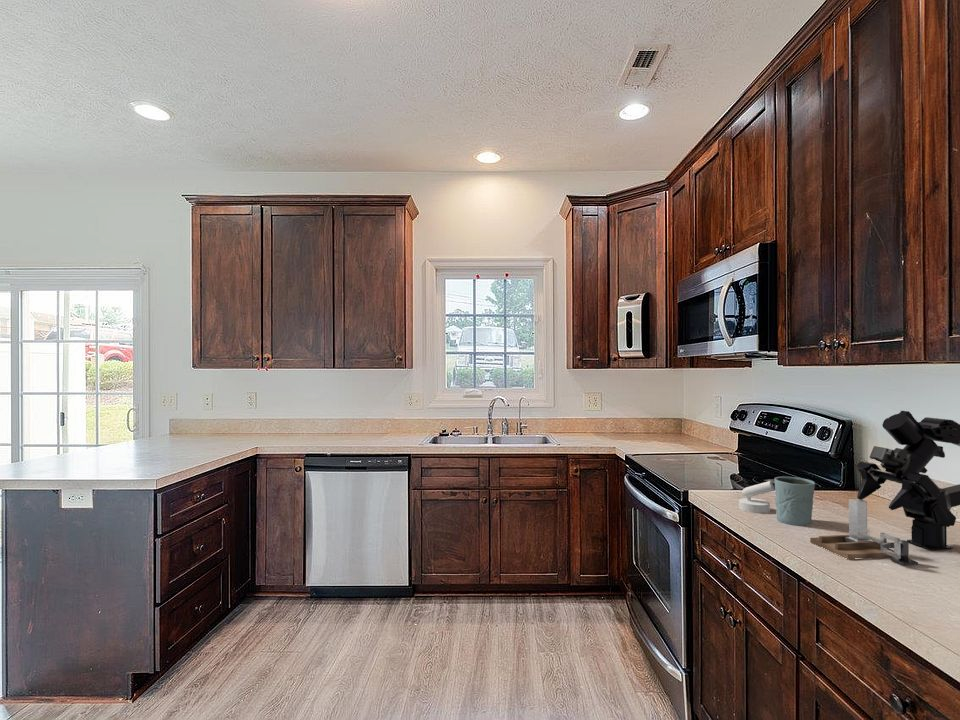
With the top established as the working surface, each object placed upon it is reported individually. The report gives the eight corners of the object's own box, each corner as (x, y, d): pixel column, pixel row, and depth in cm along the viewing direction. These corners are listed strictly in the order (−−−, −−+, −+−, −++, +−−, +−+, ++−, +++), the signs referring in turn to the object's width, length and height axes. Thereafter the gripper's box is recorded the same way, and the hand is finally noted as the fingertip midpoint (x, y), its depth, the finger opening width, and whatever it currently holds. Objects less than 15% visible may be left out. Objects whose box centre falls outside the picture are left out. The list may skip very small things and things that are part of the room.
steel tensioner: (859, 540, 133) (859, 498, 133) (907, 559, 120) (906, 512, 120) (844, 541, 132) (844, 498, 133) (890, 560, 120) (890, 513, 120)
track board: (856, 540, 137) (856, 530, 137) (898, 557, 125) (898, 546, 125) (810, 542, 136) (810, 532, 136) (847, 559, 124) (847, 548, 124)
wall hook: (771, 484, 160) (735, 479, 166) (771, 515, 160) (735, 510, 166) (777, 479, 167) (742, 474, 173) (777, 509, 167) (742, 504, 173)
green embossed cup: (776, 514, 161) (776, 475, 161) (816, 520, 155) (816, 479, 155) (772, 523, 153) (772, 481, 153) (814, 529, 147) (813, 485, 147)
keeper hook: (903, 559, 124) (903, 538, 124) (918, 564, 121) (917, 543, 121) (876, 560, 124) (876, 539, 124) (890, 566, 120) (889, 544, 120)
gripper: (861, 430, 141) (823, 473, 140) (928, 440, 123) (885, 490, 122) (888, 459, 142) (851, 502, 141) (959, 474, 124) (916, 523, 122)
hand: (873, 503), depth 131 cm, fingers open, 9 cm apart
